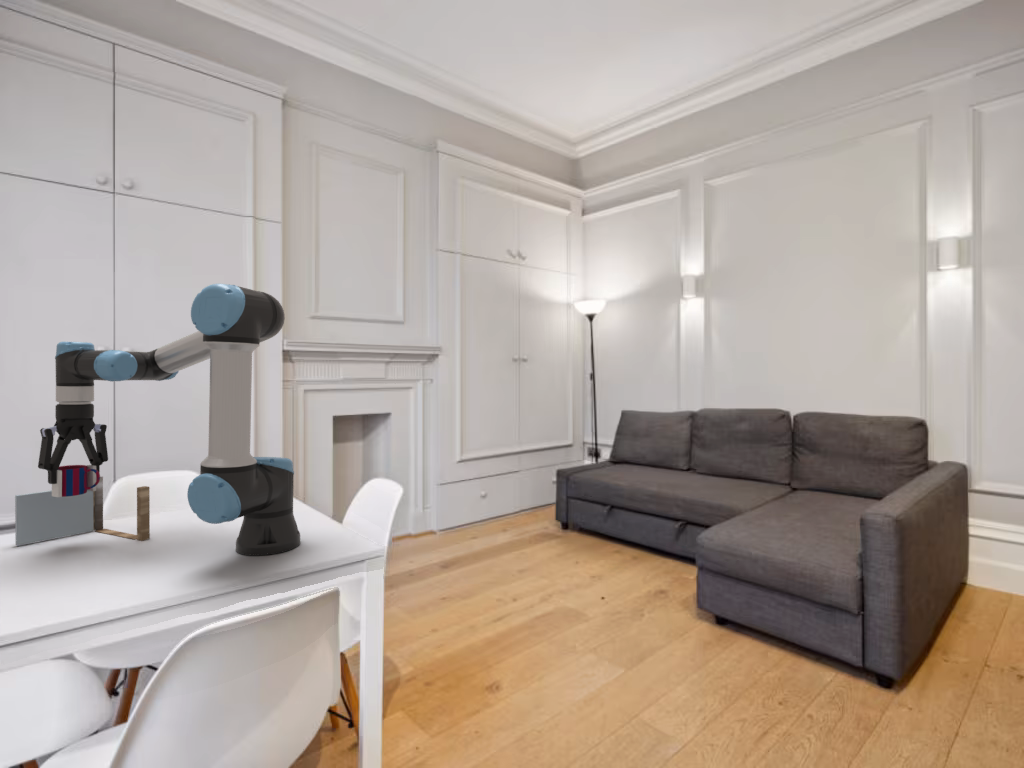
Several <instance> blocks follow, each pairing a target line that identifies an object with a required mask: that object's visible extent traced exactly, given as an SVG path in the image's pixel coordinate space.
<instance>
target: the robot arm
mask: <svg viewBox="0 0 1024 768" xmlns="http://www.w3.org/2000/svg"><path fill="white" fill-rule="evenodd" d="M190 318H191V323H192V324H193V325H194V327H195V328H196V330H197V331H195V332H193V333H191V334H187V335H185V336H183V337H181V338H179V339H176V340H174V341H172V342H170V343H168V344H165V345H162V346H160V347H158V348H156V349H153V350H151V351H125V350H121V349H120V350H119V349H117V350H116V349H115V350H114V349H109V350H108V349H105V350H103V349H99V350H95V345H94V344H93V343H92V342H87V341H85V342H84V341H83V342H82V341H60V342H58V343H57V345H56V352H55V357H54V359H55V402H56V403H57V404H56V405H55V413H54V414H55V415H54V416H55V423H54V425H53V426H49V427H45V428H44V427H42V428H41V429H40V430H39V431H40V436H41V443H40V451H39V457H38V463H37V467H38V469H40V470H46V471H47V483H48V484H49V485H51V490H52V496H53V497H62V470H58V468H59V467H60V466H61V463H62V461H63V458H64V456H65V453H66V451H67V449H68V446H69V445H71V442H72V441H75V440H78V441H79V442H80V443H81V446H82V447H83V451H84V452H85V454H86V457H87V459H88V461H89V463H90V464H87V465H86V466H87V470H88V469H96V470H97V471H98V472H99V474H100V472H101V471H100V466H102V465H103V464H104V463H105V462H108V461H109V454H108V453H109V452H108V447H107V437H106V432H107V427H108V426H107V425H106V424H104V423H103V424H101V423H95V421H94V416H95V405H94V404H93V403H92V402H94V401H95V381H107V382H122V381H157V382H158V381H159V382H160V381H161V382H162V381H167V380H172V379H174V378H176V376H177V374H178V373H179V371H182V370H184V369H187V368H189V367H192V366H195V365H198V364H199V363H201V362H204V361H206V360H209V395H208V396H209V401H208V403H209V406H208V449H207V451H208V455H207V456H206V457H205V458H204V459H203V460H202V461H200V464H199V465H200V466H199V467H200V468H199V469H200V470H199V471H200V473H199V475H197V476H195V477H194V478H193V480H192V481H191V482H190V483H189V485H188V488H187V501H188V505H189V507H190V509H191V511H192V513H193V514H196V516H197V518H198V519H200V520H201V521H203V522H205V523H207V524H211V525H212V524H214V525H218V524H223V523H228V522H233V521H235V520H237V519H238V518H242V517H243V519H242V522H241V526H240V529H239V533H238V536H237V538H236V540H235V552H237V553H238V554H240V555H244V556H245V555H246V556H267V555H274V554H280V553H284V552H287V551H290V550H293V549H296V548H297V547H298V546H300V544H301V532H300V531H299V528H298V525H297V521H296V518H295V516H294V475H295V471H294V463H293V460H292V459H291V458H287V457H276V456H275V457H273V456H253V455H252V453H251V426H252V425H251V424H252V422H251V420H252V378H253V377H252V374H253V353H254V351H255V350H257V349H258V348H259V347H260V343H262V342H265V341H267V340H269V339H271V338H274V337H275V336H276V335H277V334H279V333H280V332H281V330H282V329H283V327H284V324H285V318H286V317H285V310H284V308H283V305H282V303H280V301H279V300H277V298H275V297H274V296H273V295H271V294H270V293H267V292H265V291H264V292H263V291H260V290H254V289H251V288H247V287H241V286H239V285H235V284H227V283H213V284H209V285H207V286H205V287H204V288H202V290H201V291H200V292H198V293H197V294H196V295H195V297H194V298H193V301H192V303H191V307H190ZM92 431H93V432H94V441H95V445H94V443H93V438H92V436H91V432H92ZM56 433H57V434H58V437H57V440H56V444H55V445H56V446H55V447H54V450H53V445H54V438H55V437H54V436H55V435H56ZM100 475H101V474H100ZM95 483H96V473H95V472H94V471H89V472H87V487H91V486H93V485H94V484H95ZM88 491H96V486H95V487H93V488H91V489H88Z"/></svg>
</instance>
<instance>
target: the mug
mask: <svg viewBox="0 0 1024 768" xmlns="http://www.w3.org/2000/svg"><path fill="white" fill-rule="evenodd" d="M58 470H62V497H67V496H76V495H81V494H85V493H87V490H88V489H91V488H93V487H95V486H96V485H97V484H98V483H99V481H100V477H101V474H99V472H98V471H97V470H96V469H88V470H87V465H85V464H68V465H60V466H59V468H58ZM89 471H94V472H95V473H96V477H97V479H96V483H95V484H94V485H93V486H91V487H87V472H89Z"/></svg>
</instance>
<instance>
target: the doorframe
mask: <svg viewBox="0 0 1024 768" xmlns="http://www.w3.org/2000/svg"><path fill="white" fill-rule="evenodd" d="M96 479H97V477H96ZM150 496H151V495H150V486H147V485H143V486H138V487H136V534H133V533H129V532H123V531H119V530H114V529H109V528H104V476H100V481H99V483H98V484H97V485H96V491H93V531H95V532H96V533H99V534H105V535H110V536H115V537H120V538H124V539H129V540H133V541H134V540H137V541H141V542H143V541H146V540H150V539H151V538H150V534H151V533H150V531H151V529H150V518H151V517H150V513H151V512H150V511H151V510H150V507H151V506H150V504H151V502H150V499H151V498H150Z"/></svg>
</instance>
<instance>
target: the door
mask: <svg viewBox="0 0 1024 768" xmlns="http://www.w3.org/2000/svg"><path fill="white" fill-rule="evenodd" d="M14 501H15V502H14V503H15V506H14V507H15V508H14V512H15V513H14V514H15V519H14V521H15V522H14V523H15V524H14V525H15V527H14V528H15V532H14V533H15V546H16V547H18V546H23V545H27V544H33V543H34V544H35V543H38V542H43V541H44V542H45V541H48V540H49V541H50V540H54V539H58V538H60V539H61V538H63V537H69V536H73V535H74V536H75V535H78V534H79V535H80V534H84V533H89V532H94V530H93V491H88V490H87V493H85V494H81V495H76V496H67V497H53V496H52V489H51V490H45V491H38V492H37V491H36V492H30V493H23V494H15V497H14Z"/></svg>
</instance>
